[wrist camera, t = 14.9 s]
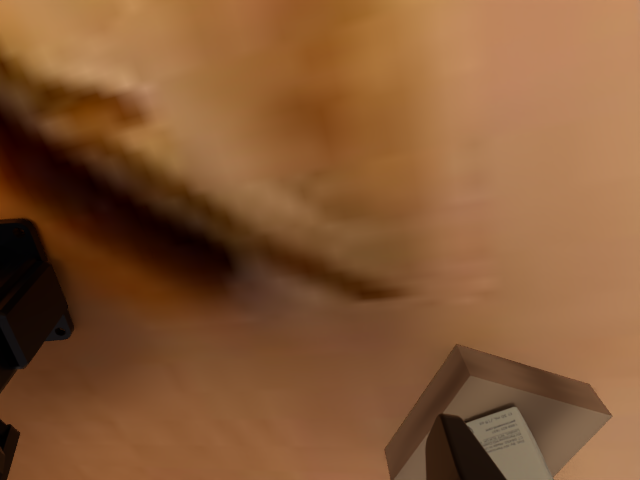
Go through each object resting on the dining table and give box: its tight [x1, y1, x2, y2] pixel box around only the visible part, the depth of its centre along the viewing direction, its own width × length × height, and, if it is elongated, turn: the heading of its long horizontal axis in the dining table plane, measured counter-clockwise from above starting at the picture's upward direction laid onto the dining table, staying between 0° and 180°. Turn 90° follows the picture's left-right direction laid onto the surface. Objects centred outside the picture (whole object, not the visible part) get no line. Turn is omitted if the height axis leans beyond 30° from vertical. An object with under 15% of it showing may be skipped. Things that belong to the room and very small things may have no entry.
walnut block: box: [385, 344, 612, 480], centre depth 28 cm, size 9×9×3 cm
